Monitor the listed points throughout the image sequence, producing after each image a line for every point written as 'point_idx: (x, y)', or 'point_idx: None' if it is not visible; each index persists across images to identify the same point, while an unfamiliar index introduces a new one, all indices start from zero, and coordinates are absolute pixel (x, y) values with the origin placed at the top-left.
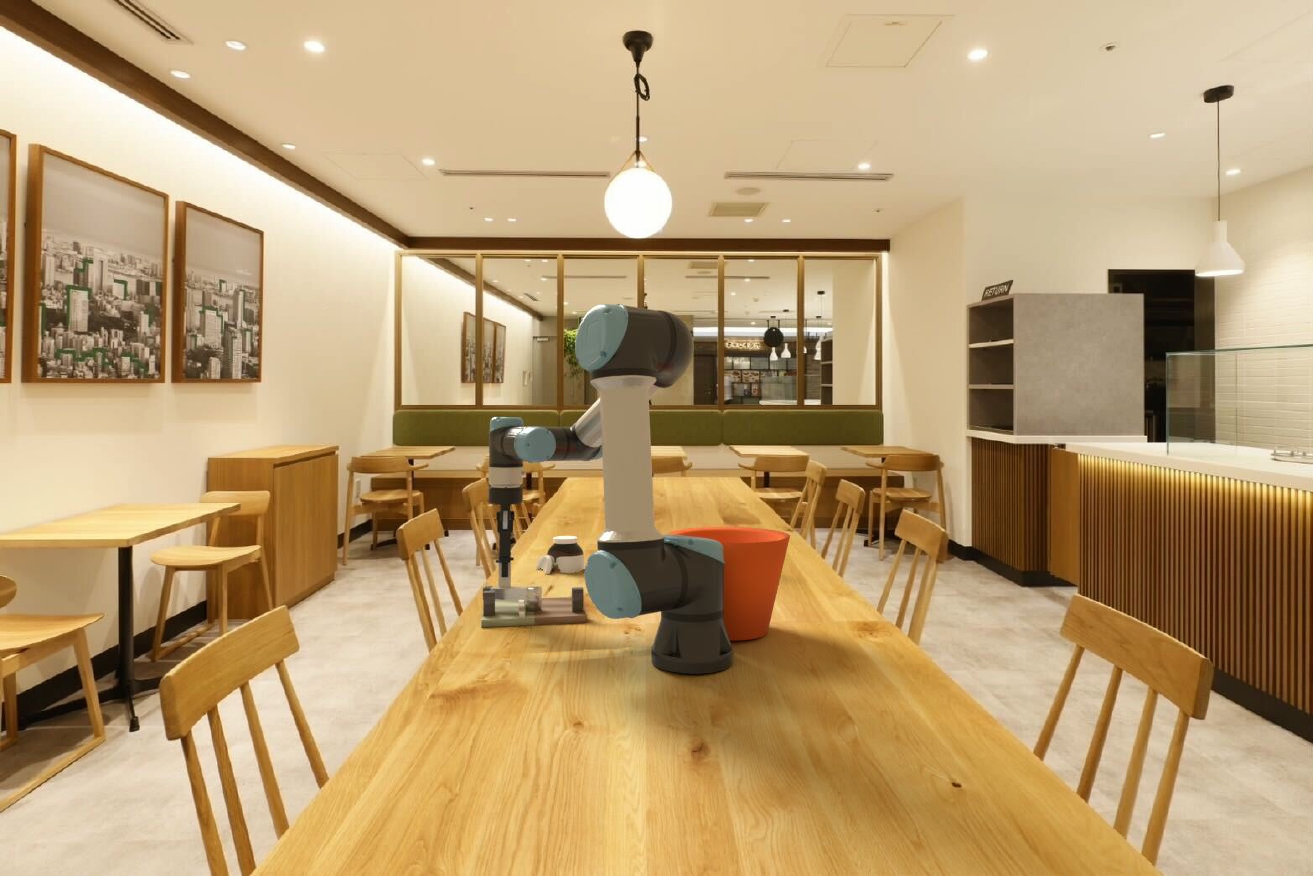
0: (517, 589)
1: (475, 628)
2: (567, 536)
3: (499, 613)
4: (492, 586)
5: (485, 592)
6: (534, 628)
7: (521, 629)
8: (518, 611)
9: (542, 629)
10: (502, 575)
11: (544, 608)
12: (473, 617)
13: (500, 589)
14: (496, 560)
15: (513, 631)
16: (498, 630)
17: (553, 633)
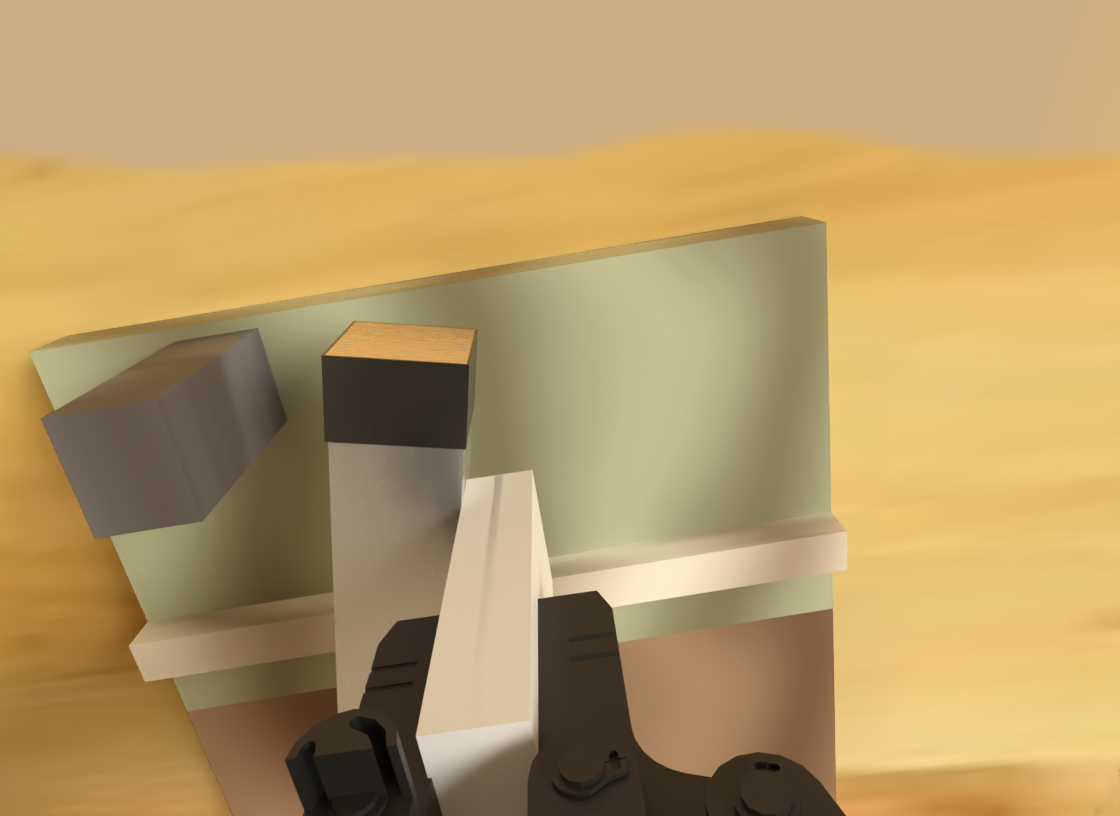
0: (340, 704)
1: (27, 295)
2: None
3: (291, 456)
4: (445, 447)
5: (60, 440)
6: (119, 685)
7: (75, 617)
8: None
9: (103, 730)
10: (386, 652)
11: None
12: (401, 196)
13: (332, 548)
14: (315, 764)
15: (8, 578)
16: (10, 478)
17: (21, 795)
